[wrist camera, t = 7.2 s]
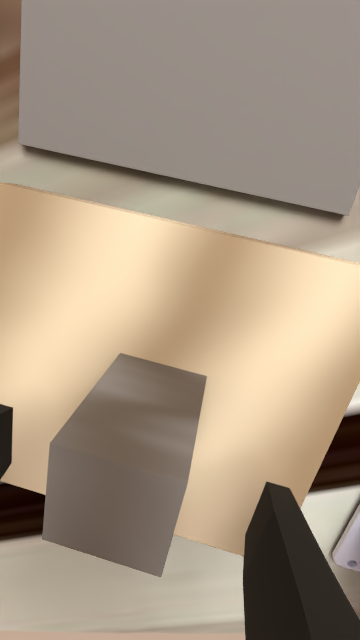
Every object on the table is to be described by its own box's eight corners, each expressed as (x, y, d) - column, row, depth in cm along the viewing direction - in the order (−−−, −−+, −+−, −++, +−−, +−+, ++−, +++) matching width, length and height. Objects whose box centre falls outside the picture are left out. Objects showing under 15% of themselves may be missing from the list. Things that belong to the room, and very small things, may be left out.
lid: (395, 271, 10) (556, 343, 5) (271, 546, 14) (289, 732, 9) (14, 183, 11) (-177, 169, 6) (8, 465, 15) (-105, 594, 10)
